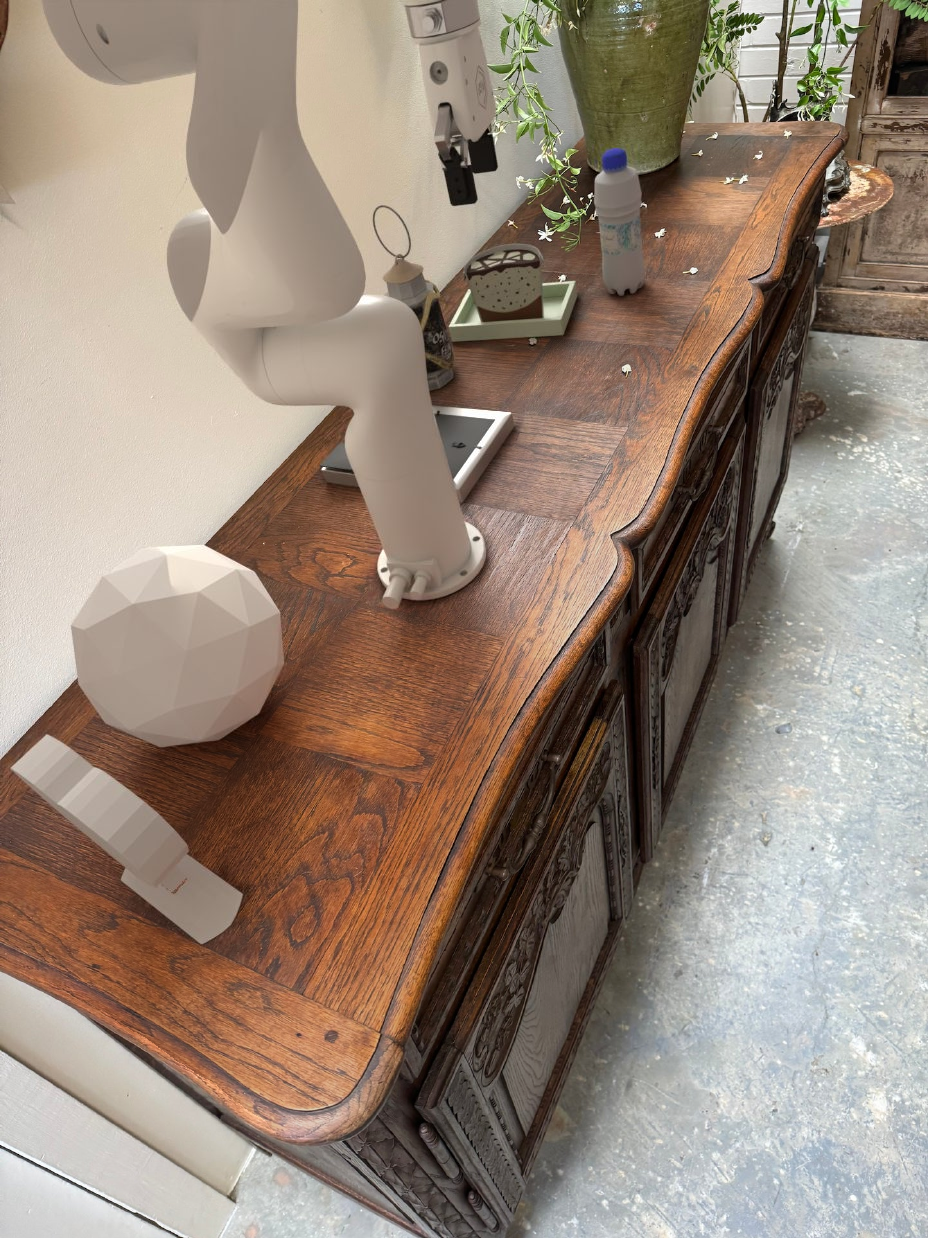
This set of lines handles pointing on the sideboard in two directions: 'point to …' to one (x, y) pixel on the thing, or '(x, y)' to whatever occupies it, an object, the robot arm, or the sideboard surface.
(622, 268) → the bottle
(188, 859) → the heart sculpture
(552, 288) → the tray
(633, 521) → the sideboard surface
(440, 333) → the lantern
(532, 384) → the sideboard surface
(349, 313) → the robot arm
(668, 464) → the sideboard surface
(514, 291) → the food container
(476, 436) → the picture frame
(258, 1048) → the sideboard surface
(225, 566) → the ball
